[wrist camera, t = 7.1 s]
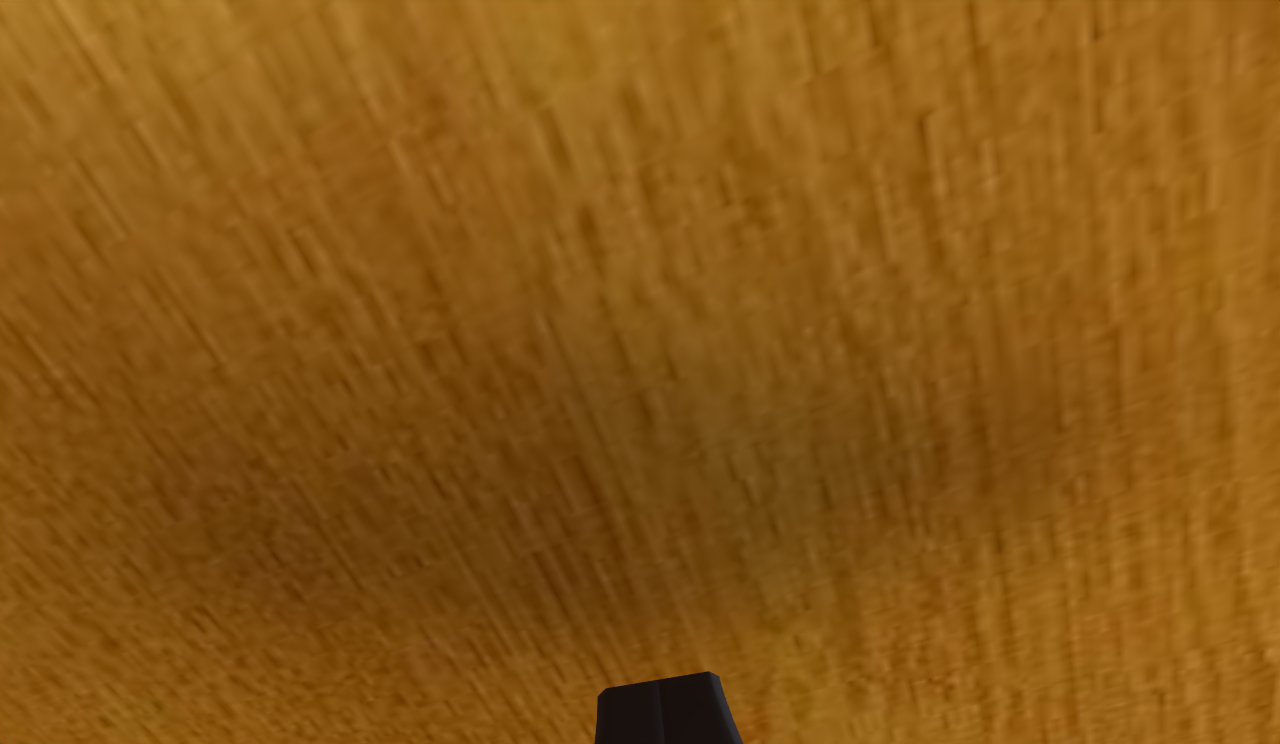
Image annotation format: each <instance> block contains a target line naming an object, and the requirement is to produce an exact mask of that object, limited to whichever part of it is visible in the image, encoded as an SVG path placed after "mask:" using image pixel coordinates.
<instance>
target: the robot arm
mask: <svg viewBox="0 0 1280 744" xmlns="http://www.w3.org/2000/svg"><path fill="white" fill-rule="evenodd" d="M595 744H743V742H742V739H741V737H740V735H739V732H738V730H737V728H736V725H735V723H734V720H733V718H732V715H731V712H730V709H729V707H728V704H727V701H726V698H725V695H724V692H723V689H722V686H721V682H720V678H719V676H717V675H715V674H713V673H711V672H709V671H708V672H702V673H696V674H690V675H684V676H678V677H672V678H666V679H660V680H654V681H648V682H642V683H636V684H630V685H624V686H618V687H612V688H606V689H605V690H604V691H603V692H602V693H601V694H600V695H599V696H598V705H597V725H596V735H595Z"/></svg>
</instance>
